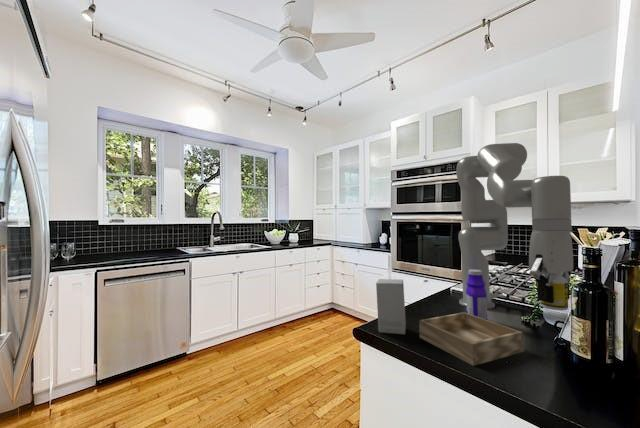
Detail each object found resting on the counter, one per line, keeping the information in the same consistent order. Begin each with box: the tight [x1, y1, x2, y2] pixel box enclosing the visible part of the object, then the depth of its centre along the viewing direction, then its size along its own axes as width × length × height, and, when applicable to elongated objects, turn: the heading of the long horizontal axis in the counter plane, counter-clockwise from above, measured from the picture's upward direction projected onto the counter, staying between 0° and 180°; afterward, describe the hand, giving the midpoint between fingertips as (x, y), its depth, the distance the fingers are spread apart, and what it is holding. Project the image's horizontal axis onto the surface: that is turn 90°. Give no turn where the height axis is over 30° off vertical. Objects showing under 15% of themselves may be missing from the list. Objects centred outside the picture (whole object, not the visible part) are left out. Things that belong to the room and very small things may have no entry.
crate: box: [418, 311, 525, 367], centre depth 77 cm, size 18×18×5 cm
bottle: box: [466, 270, 488, 320], centre depth 94 cm, size 7×6×17 cm
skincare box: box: [375, 278, 407, 335], centre depth 88 cm, size 8×7×16 cm
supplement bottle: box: [539, 270, 569, 311], centre depth 69 cm, size 5×5×10 cm
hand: (553, 299), depth 69 cm, fingers closed on supplement bottle, 5 cm apart
